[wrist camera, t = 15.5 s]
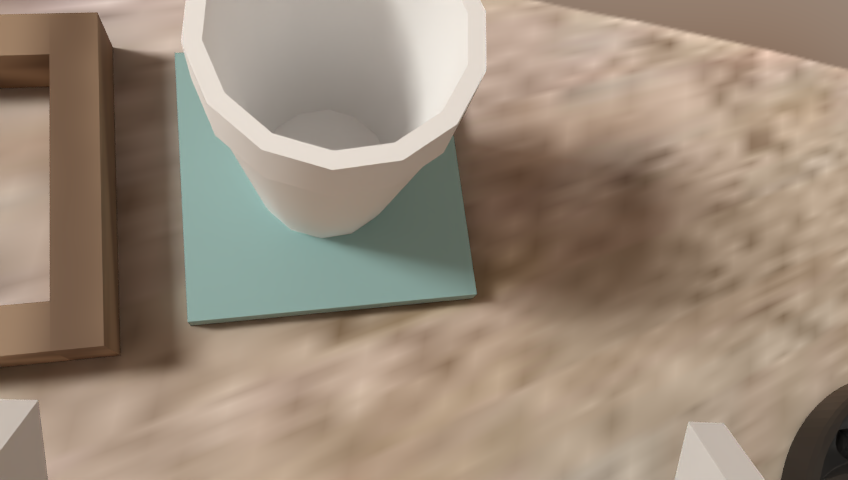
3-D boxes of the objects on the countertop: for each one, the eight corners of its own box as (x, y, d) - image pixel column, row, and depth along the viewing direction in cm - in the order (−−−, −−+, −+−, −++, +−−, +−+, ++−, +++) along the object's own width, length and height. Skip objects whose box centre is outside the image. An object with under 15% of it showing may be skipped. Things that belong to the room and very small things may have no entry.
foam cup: (402, 74, 38) (454, -111, 25) (442, 251, 36) (519, 143, 23) (208, 96, 36) (161, -92, 23) (237, 285, 34) (202, 188, 21)
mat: (436, 54, 40) (440, 44, 39) (471, 298, 36) (476, 294, 35) (177, 63, 37) (174, 52, 36) (190, 325, 34) (187, 322, 33)
